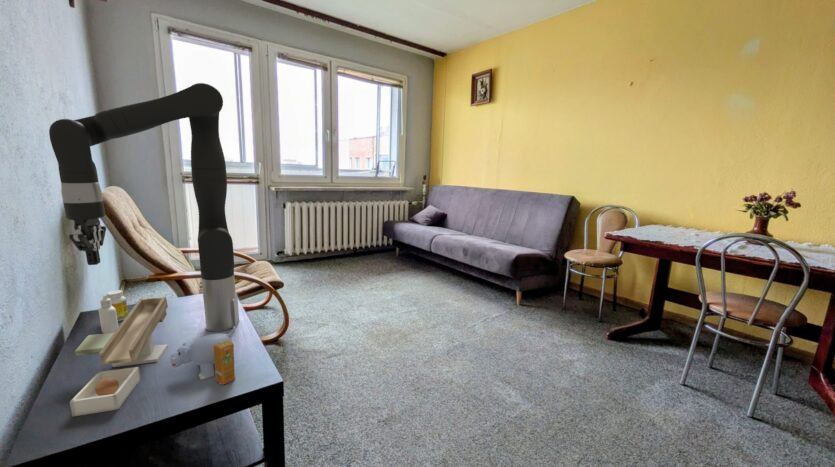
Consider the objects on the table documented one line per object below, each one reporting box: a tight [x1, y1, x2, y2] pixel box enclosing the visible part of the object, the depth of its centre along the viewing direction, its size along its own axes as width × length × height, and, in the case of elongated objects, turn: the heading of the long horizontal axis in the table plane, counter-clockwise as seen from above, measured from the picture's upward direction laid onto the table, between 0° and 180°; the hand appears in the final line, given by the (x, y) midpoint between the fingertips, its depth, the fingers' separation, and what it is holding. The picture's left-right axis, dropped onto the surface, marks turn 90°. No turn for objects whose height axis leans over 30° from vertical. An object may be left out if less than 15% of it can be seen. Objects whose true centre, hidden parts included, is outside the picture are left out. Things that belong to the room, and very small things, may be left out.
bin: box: [69, 366, 141, 418], centre depth 79 cm, size 8×11×4 cm
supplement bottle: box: [106, 289, 129, 322], centre depth 116 cm, size 5×5×10 cm
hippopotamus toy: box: [170, 326, 236, 380], centre depth 90 cm, size 11×15×10 cm
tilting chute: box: [74, 296, 169, 366], centre depth 93 cm, size 13×24×6 cm, turn 18°
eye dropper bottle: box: [98, 294, 119, 334], centre depth 107 cm, size 4×6×12 cm
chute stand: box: [111, 333, 169, 368], centre depth 95 cm, size 10×8×6 cm
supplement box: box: [214, 340, 236, 386], centre depth 85 cm, size 3×3×10 cm
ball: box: [95, 378, 119, 396], centre depth 79 cm, size 4×4×4 cm
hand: (94, 264), depth 93 cm, fingers closed
